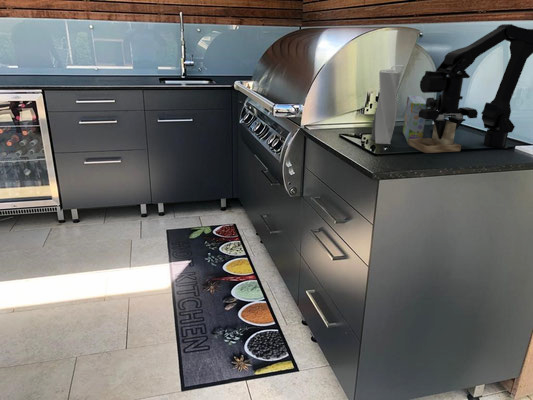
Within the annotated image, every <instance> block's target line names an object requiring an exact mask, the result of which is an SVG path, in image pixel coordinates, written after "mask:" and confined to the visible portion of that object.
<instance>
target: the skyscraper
mask: <svg viewBox="0 0 533 400" xmlns="http://www.w3.org/2000/svg"><path fill="white" fill-rule="evenodd" d="M396 67H402V68H401V70H400V72H399V71H396V69H394V68H396ZM404 67H405V66H404V65H403V64H395V65H393V66H392V67H391V68H388V69H381V70H379V73H378V74H379V75H378V77H379V96H378V100H377V105H376V108H375V111H374V115H373V117H374V118H373V120H372V128H371V131H370V134H371V135H370V136H371V137H370V140H371V141H375V142H374V143H375V144H379V145H391V141H392V139H393V133H394V129H395V124H396V120H397V111H398V110H397V108H398V102H397V99H398V98H397V92H398V89H399V84H400V81H401V77H402V72H403V70H404Z"/></svg>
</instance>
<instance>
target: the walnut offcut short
mask: <svg viewBox="0 0 533 400" xmlns="http://www.w3.org/2000/svg"><path fill="white" fill-rule="evenodd" d="M418 142H420V143H422V144H424V145H426V146H434V144H433V143H431V142H428V141H425V140H423V141H418Z"/></svg>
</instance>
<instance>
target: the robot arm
mask: <svg viewBox="0 0 533 400" xmlns="http://www.w3.org/2000/svg"><path fill="white" fill-rule="evenodd" d="M504 41H506V42H509V43H510V44H509V52H510V54H509V55H510V57H509V59H508V62H507V65H506V68H505V70H504V72H503V75H502V78H501V81H500V83H499V86H498V89H497V91H496V93H495V95H494V98H493V100H491V101H490V102H485V104H484V107H483V109H482V112H480V114H481V121H482V123H483V128H484V129H487V130H486V133H485V134H484V139H483V146H485V147H487V148H488V147H489V148H490V147H491V148H498V149H499V148H500V149H503V150H509V146H506V145H507V140H508V135H509V133H513V132H514V130H515V127H516V126H515V124H514V123H513V122H512V120H511V119H510V117H511V113H512V108H511V100H512V97H513V96H514V92H515V90H516V88H517V85H518V83H519V81H520V78H521V75H522V72H523V71H524V67H525V65H526V63H527V60H528V58H530V56H531V55H532V54H533V28H525V27H519V26H517V25H514V24H512V23H509V24H507V23H506V24H500V25H498V26H497V27H496V28H495V29H493V30H492V31H490V32H489V33H487V34H485V35H484V36H482V37H480V38H479V39H477V40H476V41H474V42H472V43H471V44H468V45H467V46H464V47H460V48H457V49H454V50H452V51H449V52H448V53H446V54H445V56H444V59H443V61H442V62H441V64H439V66H438V67H437V69H436V70H435V71H431V70H426V71H424V74H423V76H422V77H421V80H420V81H419V88H420V91H421V93H423V94H427V93H428V94H429V93H430V94H432V93H433V94H434V93H436V94H437V93H440V94H439V95H438V98H436V99H435V98H434V97H427V98H426V100H425V101H426V107H427V109H421V110H420V111H419V116H418V117H420V118H423V119H426V120H425V121H428V120H429V121H433V124H434V123H435V126H436V130H437V134H438V138H439V139H441V138H442V136H443V132H444V128H445V124H446V119H445V117H448V119H447V120H448V121H450V122H453V123H456V129H455V132H456V130H458V128H459V127H460V126H461V125H462V123H463V122H465V121H466V118H464V116H465V117H466V116H467V118H468V119H478V114H479V113H478V110H477V109H476V108H473V107H459V106H460V100H463V97H464V96H462V95H461V94H462V90H463V89H462V88H463V87H462V86H463V82H464V79H470V75H469V74H468V73H467V71H466V70H467V69H468V68H469V67H470V66H472V65H473V63H474V62H475V60H476V59H477V58H478V57H480V56H481V55H483V54H485V53H486V52H488V51H490V50H491V49H492V48H494V47H496V46H497V45H499V44H501V43H502V42H504Z"/></svg>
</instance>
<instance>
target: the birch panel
mask: <svg viewBox="0 0 533 400" xmlns="http://www.w3.org/2000/svg"><path fill="white" fill-rule="evenodd" d="M445 120H446V119H445ZM455 129H456V123H453V122H450V121H449V120H448V119H447V120H446V124H445V128H444V132H443V136H442V138H441V139H439V138H438V134H437V130H436V126H435V123H434V122H433V129H432V136H431V138H432V140H434V141H436V142H439V143H441V144H443V145H453V143H454V140H455V134H456V131H455ZM456 130H457V129H456Z"/></svg>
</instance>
